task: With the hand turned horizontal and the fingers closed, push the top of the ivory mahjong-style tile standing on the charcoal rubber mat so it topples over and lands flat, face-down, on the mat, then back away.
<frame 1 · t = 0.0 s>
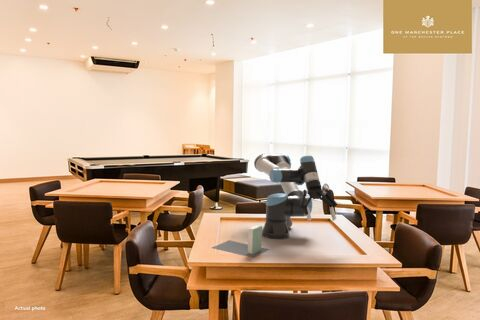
hand: (322, 220, 186), 15 cm above the table, fingers open, 13 cm apart
coffee pot: (274, 227, 229), on the table
mat: (240, 249, 184), on the table
tile: (254, 251, 179), resting on mat
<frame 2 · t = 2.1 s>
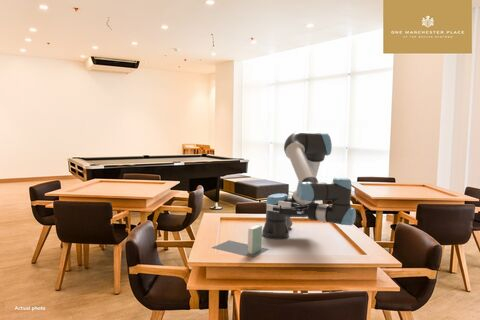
hand: (273, 205, 173), 24 cm above the table, fingers open, 11 cm apart
nothing on the table moved.
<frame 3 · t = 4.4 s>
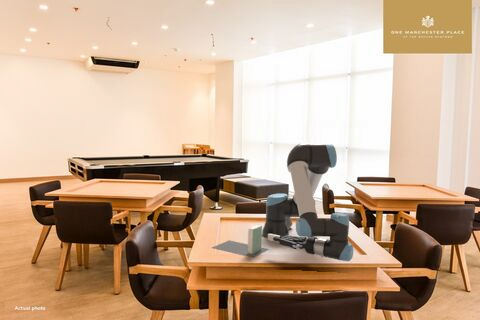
hand: (268, 236, 175), 9 cm above the table, fingers closed
nothing on the table moved.
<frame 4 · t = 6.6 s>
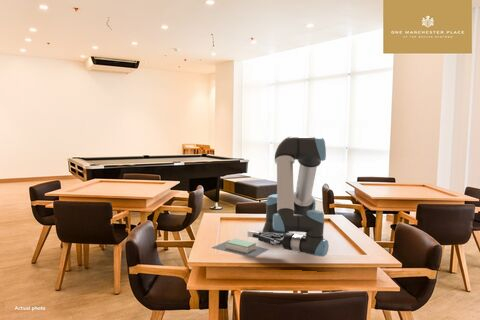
hand: (248, 233, 180), 9 cm above the table, fingers closed
tile: (251, 247, 180), point 2 cm above the table, tilted 90°, touching mat
everything else where it was.
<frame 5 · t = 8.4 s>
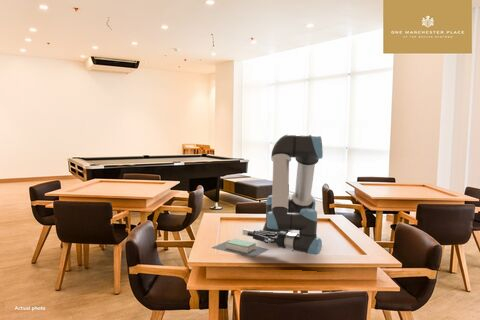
hand: (243, 231, 182), 9 cm above the table, fingers closed
nothing on the table moved.
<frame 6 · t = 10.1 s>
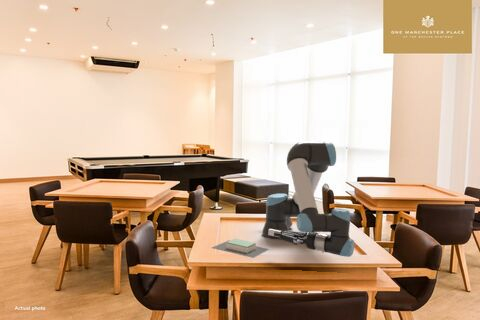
hand: (269, 231, 174), 11 cm above the table, fingers closed
nothing on the table moved.
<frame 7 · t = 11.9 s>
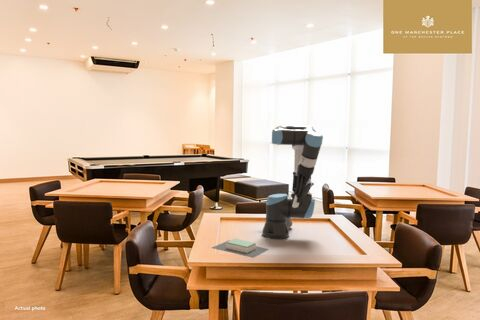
hand: (295, 206, 184), 22 cm above the table, fingers closed
nothing on the table moved.
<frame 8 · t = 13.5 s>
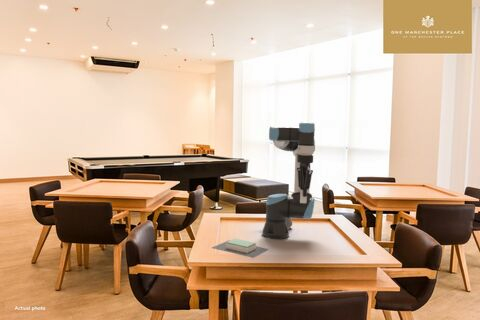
hand: (303, 202, 181), 24 cm above the table, fingers closed
nothing on the table moved.
at the end: tile tilted 90°; tile inside the target area on the mat (6.4 cm from its centre), point 1.9 cm above the mat's base; the gripper is holding nothing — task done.
